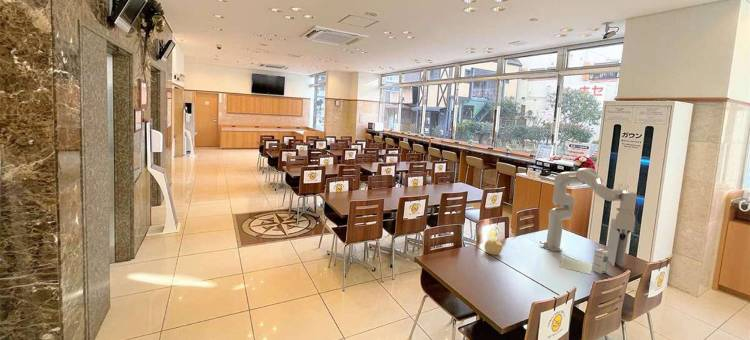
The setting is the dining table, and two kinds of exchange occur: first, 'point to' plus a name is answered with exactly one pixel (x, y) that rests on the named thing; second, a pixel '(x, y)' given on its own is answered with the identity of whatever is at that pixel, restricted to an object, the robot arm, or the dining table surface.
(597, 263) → the syrup box
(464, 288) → the dining table surface
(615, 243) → the upright grey panel
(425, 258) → the dining table surface
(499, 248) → the sculpture
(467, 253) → the dining table surface
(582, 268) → the mat
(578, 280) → the dining table surface
